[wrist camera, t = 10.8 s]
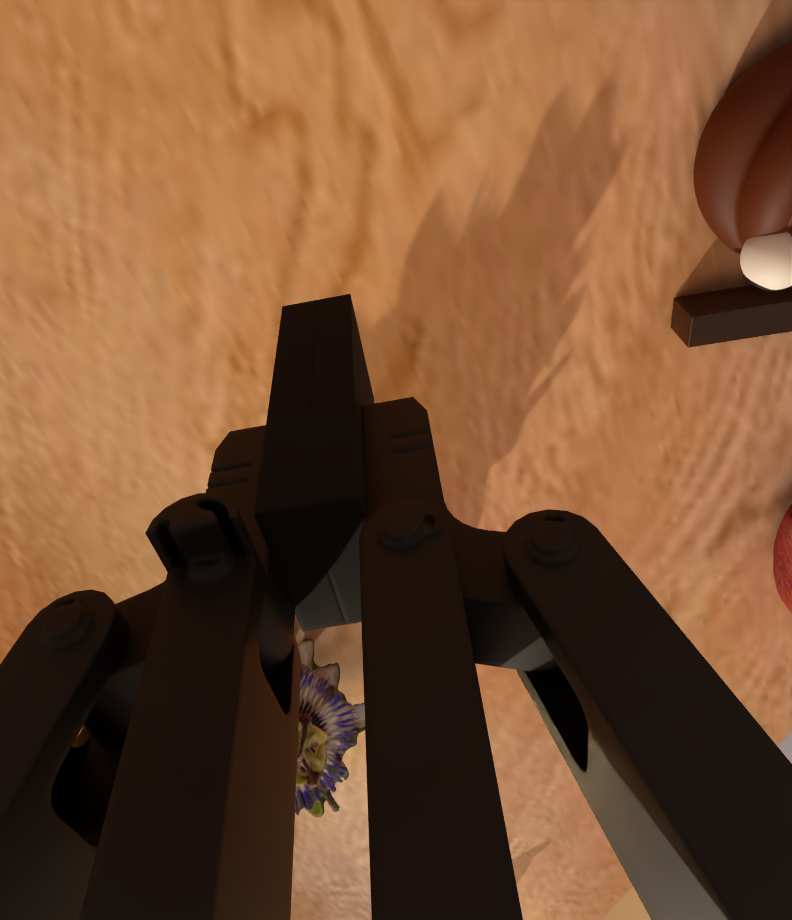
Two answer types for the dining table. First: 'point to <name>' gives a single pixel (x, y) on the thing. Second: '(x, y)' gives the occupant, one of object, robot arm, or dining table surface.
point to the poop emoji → (752, 170)
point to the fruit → (784, 559)
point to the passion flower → (322, 733)
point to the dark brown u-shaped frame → (731, 315)
